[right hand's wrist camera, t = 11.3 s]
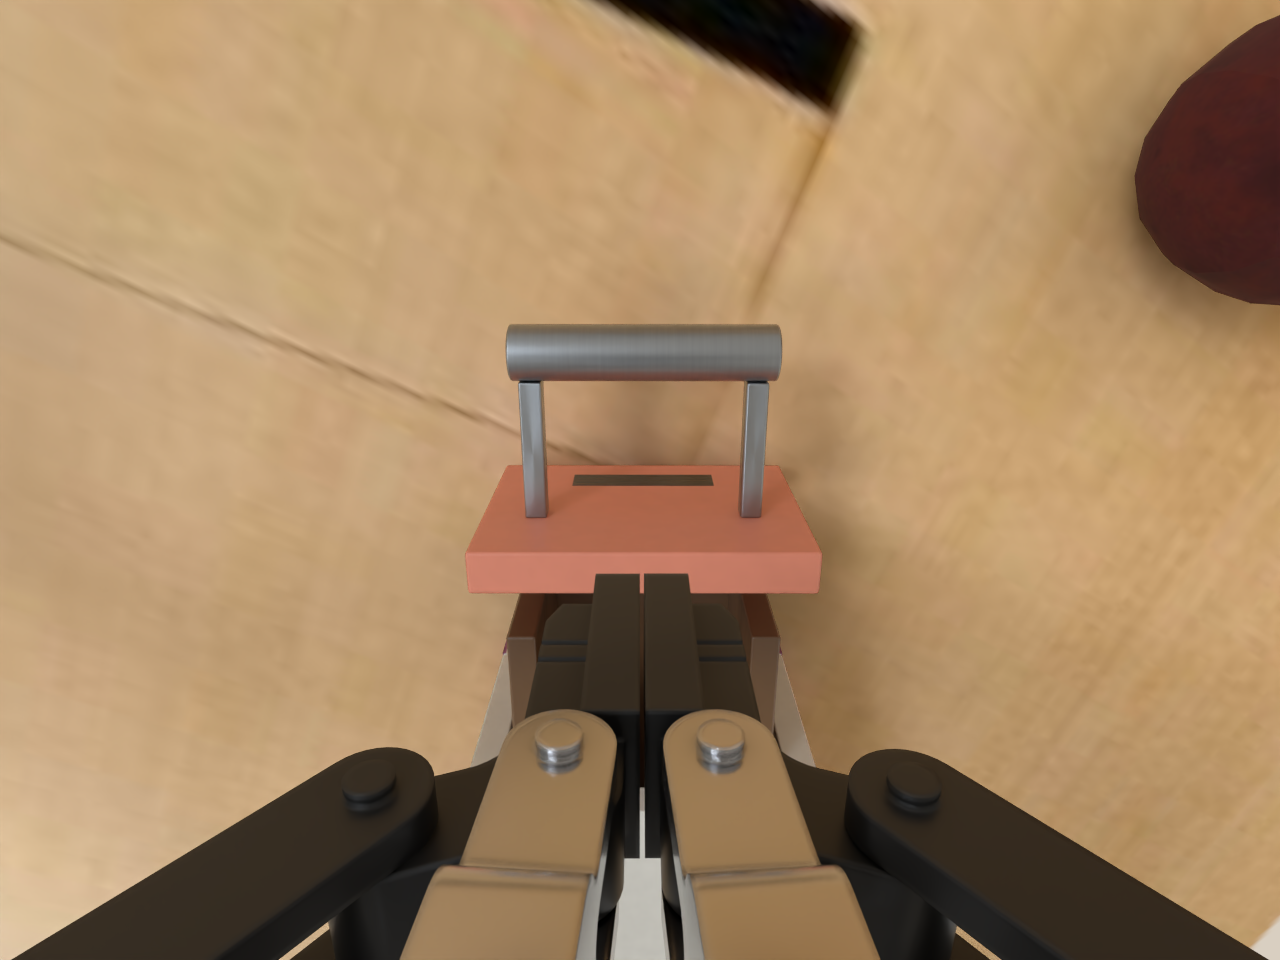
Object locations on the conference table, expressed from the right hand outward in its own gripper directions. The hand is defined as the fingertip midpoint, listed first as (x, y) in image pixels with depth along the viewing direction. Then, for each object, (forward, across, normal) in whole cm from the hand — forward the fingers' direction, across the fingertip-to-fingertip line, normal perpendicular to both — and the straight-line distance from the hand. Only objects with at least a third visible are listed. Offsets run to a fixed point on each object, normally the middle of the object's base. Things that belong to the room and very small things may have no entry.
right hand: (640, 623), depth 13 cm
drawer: (+13, 0, +7) cm, 15 cm away
